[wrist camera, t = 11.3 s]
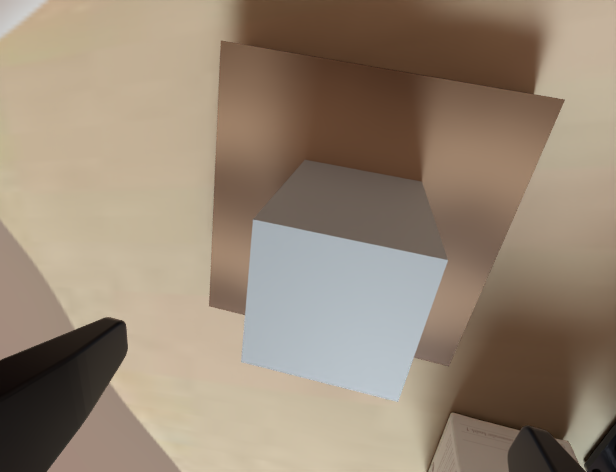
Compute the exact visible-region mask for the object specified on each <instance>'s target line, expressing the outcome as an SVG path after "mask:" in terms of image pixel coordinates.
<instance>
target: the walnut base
mask: <svg viewBox="0 0 616 472" xmlns="http://www.w3.org/2000/svg"><path fill="white" fill-rule="evenodd" d="M564 101H565V100H563V99H558V98H552V97H546V96H540V95H535V94H529V93H523V92H517V91H511V90H505V89H500V88H494V87H488V86H482V85H476V84H470V83H465V82H459V81H453V80H447V79H441V78H436V77H430V76H424V75H418V74H412V73H406V72H401V71H395V70H389V69H383V68H377V67H371V66H366V65H360V64H354V63H348V62H342V61H337V60H331V59H325V58H319V57H313V56H307V55H302V54H296V53H290V52H284V51H278V50H273V49H267V48H261V47H255V46H249V45H243V44H237V43H232V42H226V41H221V50H220V73H219V95H218V118H217V140H216V163H215V186H214V208H213V231H212V254H211V276H210V299H209V306H211V307H215V308H219V309H223V310H227V311H231V312H235V313H239V314H243V315H245V311H246V299H247V287H248V274H249V262H250V250H251V238H252V226H253V219H254V218H255V217H256V215H257V214H258V213H259V212H260V211H261V210H262V208H263V207H264V206H265V205H266V204H267V203H268V202H269V200H270V199H271V198H272V197H273V196H274V195H275V194H276V192H277V191H278V190H279V189H280V188H281V187H282V185H283V184H284V183H285V182H286V181H287V180H288V179H289V177H290V176H291V175H292V174H293V173H294V172H295V171H296V169H297V168H298V167H299V166H300V165H301V164H302V163H303V161H304V160H309V161H315V162H320V163H325V164H331V165H336V166H341V167H347V168H352V169H357V170H362V171H368V172H373V173H378V174H384V175H389V176H394V177H400V178H405V179H410V180H416V181H421V182H422V183H423V186H424V189H425V192H426V195H427V198H428V201H429V204H430V207H431V210H432V213H433V216H434V219H435V222H436V225H437V228H438V231H439V234H440V237H441V240H442V243H443V246H444V249H445V252H446V255H447V258H448V262H447V265H446V267H445V270H444V273H443V276H442V279H441V282H440V284H439V287H438V290H437V293H436V296H435V299H434V301H433V304H432V307H431V310H430V313H429V316H428V318H427V321H426V324H425V327H424V330H423V333H422V335H421V338H420V341H419V344H418V347H417V350H416V352H415V355H414V358H418V359H422V360H426V361H430V362H434V363H438V364H442V365H446V366H449V365H450V363H451V360H452V358H453V356H454V354H455V351H456V349H457V347H458V344H459V342H460V340H461V337H462V335H463V333H464V331H465V328H466V326H467V324H468V321H469V319H470V317H471V314H472V312H473V310H474V308H475V305H476V303H477V301H478V298H479V296H480V294H481V291H482V289H483V287H484V285H485V282H486V280H487V278H488V275H489V273H490V271H491V268H492V266H493V264H494V262H495V259H496V257H497V255H498V252H499V250H500V248H501V245H502V243H503V241H504V239H505V236H506V234H507V232H508V229H509V227H510V225H511V222H512V220H513V218H514V216H515V213H516V211H517V209H518V206H519V204H520V202H521V199H522V197H523V195H524V193H525V190H526V188H527V186H528V183H529V181H530V179H531V176H532V174H533V172H534V170H535V167H536V165H537V163H538V160H539V158H540V156H541V153H542V151H543V149H544V147H545V144H546V142H547V140H548V137H549V135H550V133H551V130H552V128H553V126H554V124H555V121H556V119H557V117H558V114H559V112H560V110H561V107H562V105H563V103H564Z"/></svg>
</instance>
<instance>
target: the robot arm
mask: <svg viewBox="0 0 616 472" xmlns="http://www.w3.org/2000/svg"><path fill="white" fill-rule="evenodd" d="M127 350H128V343H127V331H126V324H125V322H124V321H122V320H118V319H115V318H111V317H106V318H103V319H100V320H98V321H95V322H93V323H90V324H88V325H86V326H83V327H81V328H78V329H76V330H73V331H71V332H68V333H66V334H63V335H61V336H58V337H56V338H54V339H51V340H49V341H46V342H44V343H41V344H39V345H36V346H34V347H31V348H29V349H27V350H24V351H21V352H19V353H17V354H14V355H12V356H9V357H7V358H4V359H2V360H0V472H47V470H48V469H49V468H50V467H51V465H52V464H53V463H54V461H55V460H56V459H57V457H58V456H59V455H60V453H61V452H62V451H63V449H64V448H65V447H66V445H67V444H68V443H69V442H70V440H71V439H72V437H73V436H74V435H75V434H76V432H77V431H78V429H79V428H80V427H81V426H82V424H83V423H84V421H85V420H86V418H87V417H88V416H89V414H90V412H91V411H92V409H93V408H94V406H95V405H96V403H97V402H98V400H99V398H100V397H101V395H102V393H103V392H104V390H105V388H106V387H107V386H108V384H109V382H110V381H111V379H112V377H113V376H114V374H115V373H116V371H117V369H118V368H119V366H120V365H121V363H122V361H123V360H124V358H125V356H126V354H127ZM507 462H508V469H509V472H586V471H587V472H616V424H615V425H614V426H613V427H612V429H611V430H610V431H609V433H608V434H607V435H606V436H605V438H604V439H603V440H602V442H601V443H600V444H599V446H598V447H597V448H596V449H595V451H594V452H593V453H592V455H591V456H590V457H589V458H588V460H587V461H586V462H585V464H584V467H585V469H586V471H585V470H584V469H583V468H582V467H581V466H580V465H579V464H578V463H577V462H576V461H575V460H574V458H573V457H572V456H571V455H570V454H569V453H568V452H567V451H566V450H565V449H564V448H563V447H562V446H561V445H560V444H559V442H558V441H557V440H556V439H555V438H554V437H553V436H552V435H551V434H550V433H549V432H548V431H546V430H544V429H540V428H536V427H532V426H529V425H526V426H524V427H522V428H521V430H520V432H519V433H518V435H517V436H516V438H515V440H514V441H513V443H512V445H511V446H510V448H509V450H508V455H507Z"/></svg>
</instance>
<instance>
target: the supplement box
mask: <svg viewBox="0 0 616 472" xmlns="http://www.w3.org/2000/svg"><path fill="white" fill-rule="evenodd" d="M519 432H520V430H516V429H512V428H508V427H505V426H501V425H496V424H493V423H489V422H485V421H481V420H478V419H474V418H470V417H467V416H463V415H460V414H456V413H451V414H450V417H449V419H448V422H447V424H446V427H445V430H444V432H443V435H442V437H441V440H440V442H439V445H438V447H437V450H436V453H435V455H434V458H433V460H432V463H431V465H430V468H429V471H428V472H509V469H508V462H507V455H508V450H509V448H510V446H511V445H512V443H513V441H514V440H515V438H516V436H517V435H518V433H519ZM556 440H557V441H558V442H559V444H560V445H561V446H562V447H563V448H564V449H565V450H566V451H567V452H568V453H569V454H570V455H571V456H572V457H573V458H574V460H575V461H576V462H577V463H578V460H577V458H576V456H575V454H574V451H573V449H572V447H571V445H570V443H569V442H568V441H566V440H560V439H556ZM578 464H579V463H578Z"/></svg>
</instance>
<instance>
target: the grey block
mask: <svg viewBox="0 0 616 472" xmlns="http://www.w3.org/2000/svg"><path fill="white" fill-rule="evenodd" d="M447 262H448V258H447V255H446V252H445V249H444V246H443V243H442V240H441V237H440V234H439V231H438V228H437V225H436V222H435V219H434V216H433V213H432V210H431V207H430V204H429V201H428V198H427V195H426V192H425V189H424V186H423V183H422V182H421V181H416V180H410V179H405V178H400V177H394V176H389V175H384V174H378V173H373V172H368V171H362V170H357V169H352V168H347V167H341V166H336V165H331V164H325V163H320V162H315V161H309V160H304V161H303V163H302V164H301V165H300V166H299V167H298V168H297V169H296V171H295V172H294V173H293V174H292V175H291V176H290V177H289V179H288V180H287V181H286V182H285V183H284V184H283V185H282V187H281V188H280V189H279V190H278V191H277V192H276V194H275V195H274V196H273V197H272V198H271V199H270V200H269V202H268V203H267V204H266V205H265V206H264V207H263V208H262V210H261V211H260V212H259V213H258V214H257V215H256V217H255V218H254V219H253V226H252V238H251V250H250V262H249V274H248V287H247V299H246V311H245V323H244V336H243V348H242V360H241V362H243V363H247V364H251V365H255V366H259V367H263V368H267V369H271V370H275V371H279V372H282V373H286V374H290V375H294V376H298V377H302V378H306V379H310V380H314V381H318V382H322V383H326V384H330V385H334V386H338V387H342V388H345V389H349V390H353V391H357V392H361V393H365V394H369V395H373V396H377V397H381V398H385V399H389V400H393V401H397V402H398V401H399V398H400V395H401V392H402V389H403V386H404V384H405V381H406V378H407V375H408V372H409V369H410V367H411V364H412V361H413V358H414V355H415V352H416V350H417V347H418V344H419V341H420V338H421V335H422V333H423V330H424V327H425V324H426V321H427V318H428V316H429V313H430V310H431V307H432V304H433V301H434V299H435V296H436V293H437V290H438V287H439V284H440V282H441V279H442V276H443V273H444V270H445V267H446V265H447Z"/></svg>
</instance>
